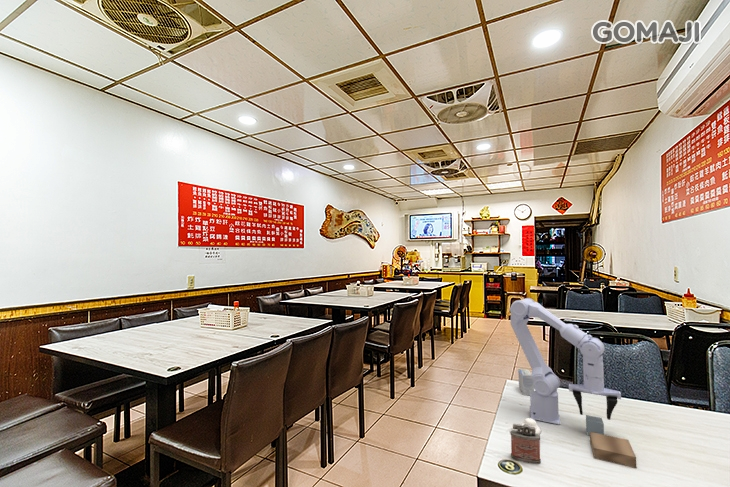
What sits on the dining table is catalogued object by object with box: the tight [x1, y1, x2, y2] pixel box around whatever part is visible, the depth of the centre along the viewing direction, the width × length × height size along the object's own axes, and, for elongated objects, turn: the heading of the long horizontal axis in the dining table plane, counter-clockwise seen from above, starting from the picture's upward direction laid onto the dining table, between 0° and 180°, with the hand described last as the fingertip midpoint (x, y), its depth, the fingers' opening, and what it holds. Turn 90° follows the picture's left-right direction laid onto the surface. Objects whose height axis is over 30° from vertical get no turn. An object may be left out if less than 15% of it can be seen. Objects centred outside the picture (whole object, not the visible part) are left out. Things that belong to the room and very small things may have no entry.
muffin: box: [520, 417, 542, 436], centre depth 110 cm, size 6×6×7 cm
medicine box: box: [518, 368, 535, 396], centre depth 147 cm, size 8×4×9 cm, turn 168°
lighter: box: [509, 423, 542, 465], centre depth 100 cm, size 8×3×10 cm, turn 71°
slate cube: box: [585, 414, 605, 437], centre depth 113 cm, size 4×4×5 cm
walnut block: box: [589, 432, 637, 469], centre depth 102 cm, size 10×10×3 cm
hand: (594, 415), depth 113 cm, fingers open, 7 cm apart
